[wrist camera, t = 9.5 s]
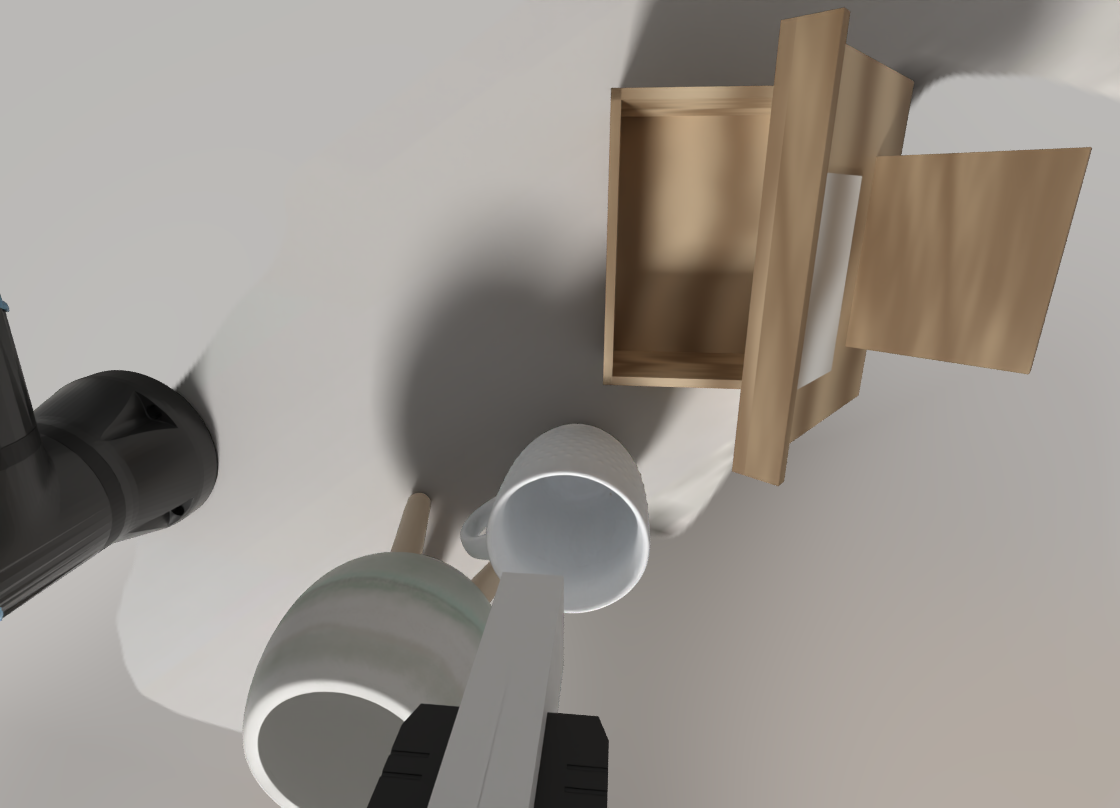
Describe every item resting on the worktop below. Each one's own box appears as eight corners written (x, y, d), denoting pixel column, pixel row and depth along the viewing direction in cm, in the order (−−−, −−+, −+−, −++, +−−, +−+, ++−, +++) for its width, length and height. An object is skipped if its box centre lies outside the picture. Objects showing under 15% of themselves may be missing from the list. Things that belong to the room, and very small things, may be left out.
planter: (385, 447, 52) (225, 614, 31) (557, 503, 52) (514, 707, 31) (353, 589, 58) (199, 813, 37) (509, 640, 58) (445, 892, 37)
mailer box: (605, 355, 47) (602, 384, 40) (612, 108, 41) (610, 88, 34) (810, 361, 46) (847, 392, 38) (847, 105, 40) (900, 83, 32)
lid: (732, 471, 27) (960, 544, 21) (780, 20, 21) (1114, -47, 15) (848, 393, 38) (1019, 427, 32) (902, 82, 32) (1122, 57, 27)
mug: (508, 545, 54) (475, 646, 42) (456, 442, 51) (405, 518, 39) (662, 496, 51) (675, 590, 39) (616, 383, 48) (614, 446, 36)
